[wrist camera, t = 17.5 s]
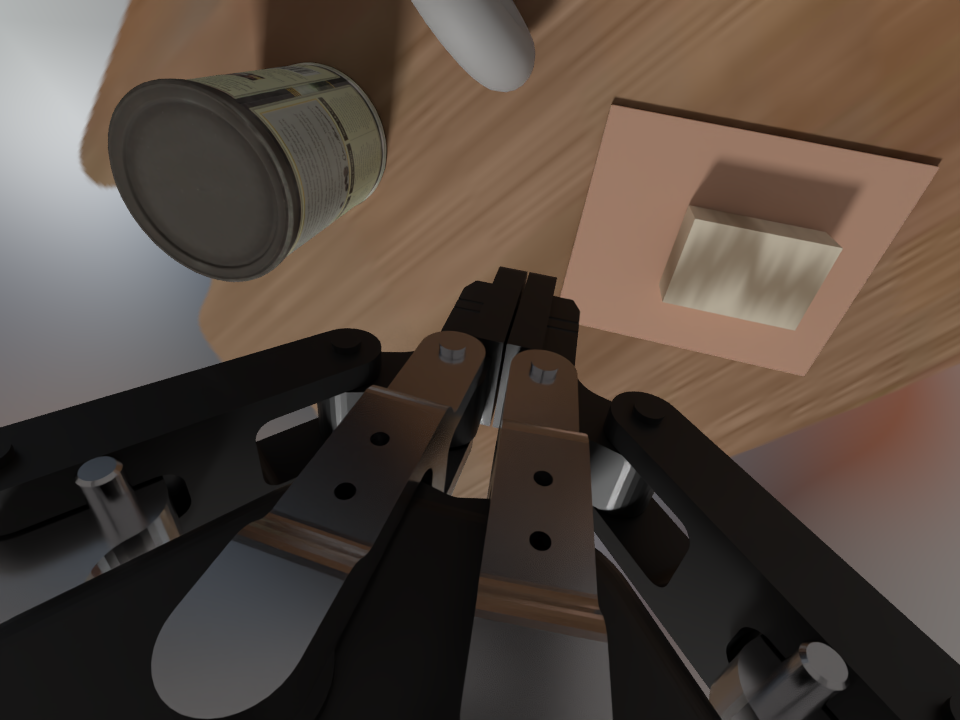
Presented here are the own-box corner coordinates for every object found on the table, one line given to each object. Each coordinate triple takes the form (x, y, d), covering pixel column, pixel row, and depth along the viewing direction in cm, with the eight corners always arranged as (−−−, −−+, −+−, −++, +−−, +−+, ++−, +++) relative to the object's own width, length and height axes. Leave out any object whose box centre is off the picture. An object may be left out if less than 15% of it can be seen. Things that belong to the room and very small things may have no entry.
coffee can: (307, 227, 42) (194, 303, 30) (232, 98, 37) (66, 131, 26) (412, 183, 38) (328, 251, 27) (343, 33, 34) (206, 37, 22)
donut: (555, 57, 32) (537, 69, 24) (512, 96, 33) (481, 118, 25) (454, -102, 29) (393, -153, 20) (412, -51, 30) (340, -79, 22)
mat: (611, 103, 32) (611, 104, 32) (936, 165, 31) (939, 167, 30) (554, 316, 42) (554, 318, 41) (802, 373, 40) (804, 376, 40)
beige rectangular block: (695, 218, 32) (843, 248, 31) (688, 203, 34) (823, 230, 34) (662, 302, 35) (794, 330, 34) (658, 282, 38) (781, 308, 37)
